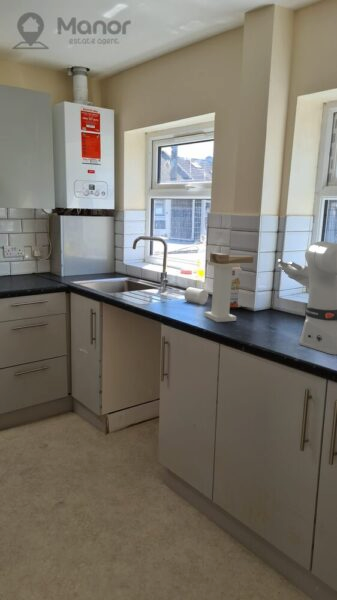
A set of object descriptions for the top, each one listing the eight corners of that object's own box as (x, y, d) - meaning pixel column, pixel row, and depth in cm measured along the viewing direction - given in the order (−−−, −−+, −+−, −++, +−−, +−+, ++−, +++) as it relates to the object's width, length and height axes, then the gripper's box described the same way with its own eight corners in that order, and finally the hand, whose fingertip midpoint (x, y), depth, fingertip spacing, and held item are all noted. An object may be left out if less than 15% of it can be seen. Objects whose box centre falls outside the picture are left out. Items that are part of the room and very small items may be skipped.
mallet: (256, 263, 208) (256, 254, 207) (218, 263, 199) (219, 254, 199) (246, 261, 215) (246, 253, 214) (209, 261, 206) (210, 252, 206)
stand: (235, 320, 207) (240, 264, 202) (217, 322, 202) (221, 264, 198) (222, 314, 217) (226, 261, 212) (204, 316, 213) (207, 261, 208)
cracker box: (222, 308, 234) (224, 267, 230) (217, 305, 239) (220, 266, 235) (246, 307, 237) (250, 268, 233) (242, 305, 243) (245, 266, 239)
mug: (198, 305, 238) (199, 290, 236) (183, 302, 244) (184, 287, 243) (211, 302, 246) (212, 288, 245) (197, 299, 253) (198, 285, 251)
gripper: (314, 283, 215) (295, 270, 209) (287, 277, 234) (269, 264, 228) (320, 272, 215) (302, 258, 209) (293, 266, 234) (275, 253, 228)
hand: (284, 261), depth 219 cm, fingers open, 8 cm apart
